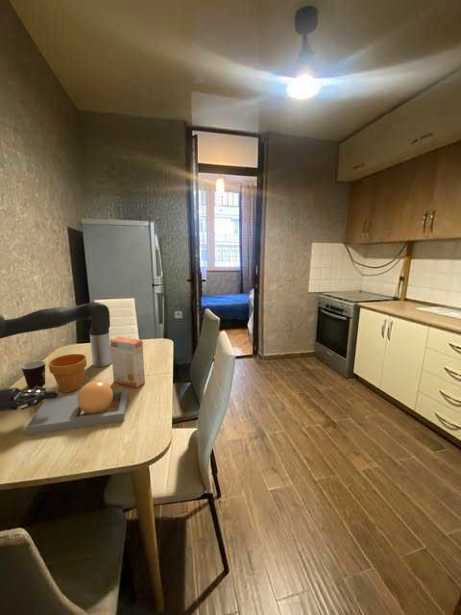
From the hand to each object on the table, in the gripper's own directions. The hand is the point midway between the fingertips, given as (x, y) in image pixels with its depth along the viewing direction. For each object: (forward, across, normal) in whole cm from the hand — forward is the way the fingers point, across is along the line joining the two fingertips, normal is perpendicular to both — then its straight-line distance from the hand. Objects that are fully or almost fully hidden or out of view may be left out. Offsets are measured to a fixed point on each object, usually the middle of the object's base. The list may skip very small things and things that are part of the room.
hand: (57, 393), depth 98 cm
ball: (+12, 0, +3) cm, 13 cm away
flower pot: (-2, +23, +9) cm, 25 cm away
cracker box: (+22, +21, +9) cm, 32 cm away
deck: (+8, 0, +9) cm, 12 cm away
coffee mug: (-17, +30, +9) cm, 36 cm away
